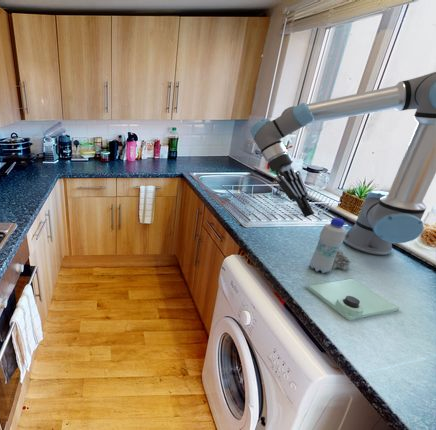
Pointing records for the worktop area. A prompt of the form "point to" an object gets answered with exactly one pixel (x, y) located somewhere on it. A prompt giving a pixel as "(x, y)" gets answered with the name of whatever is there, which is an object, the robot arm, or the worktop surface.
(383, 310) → the scale
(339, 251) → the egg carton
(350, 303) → the button
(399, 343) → the worktop surface
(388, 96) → the robot arm
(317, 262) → the bottle
